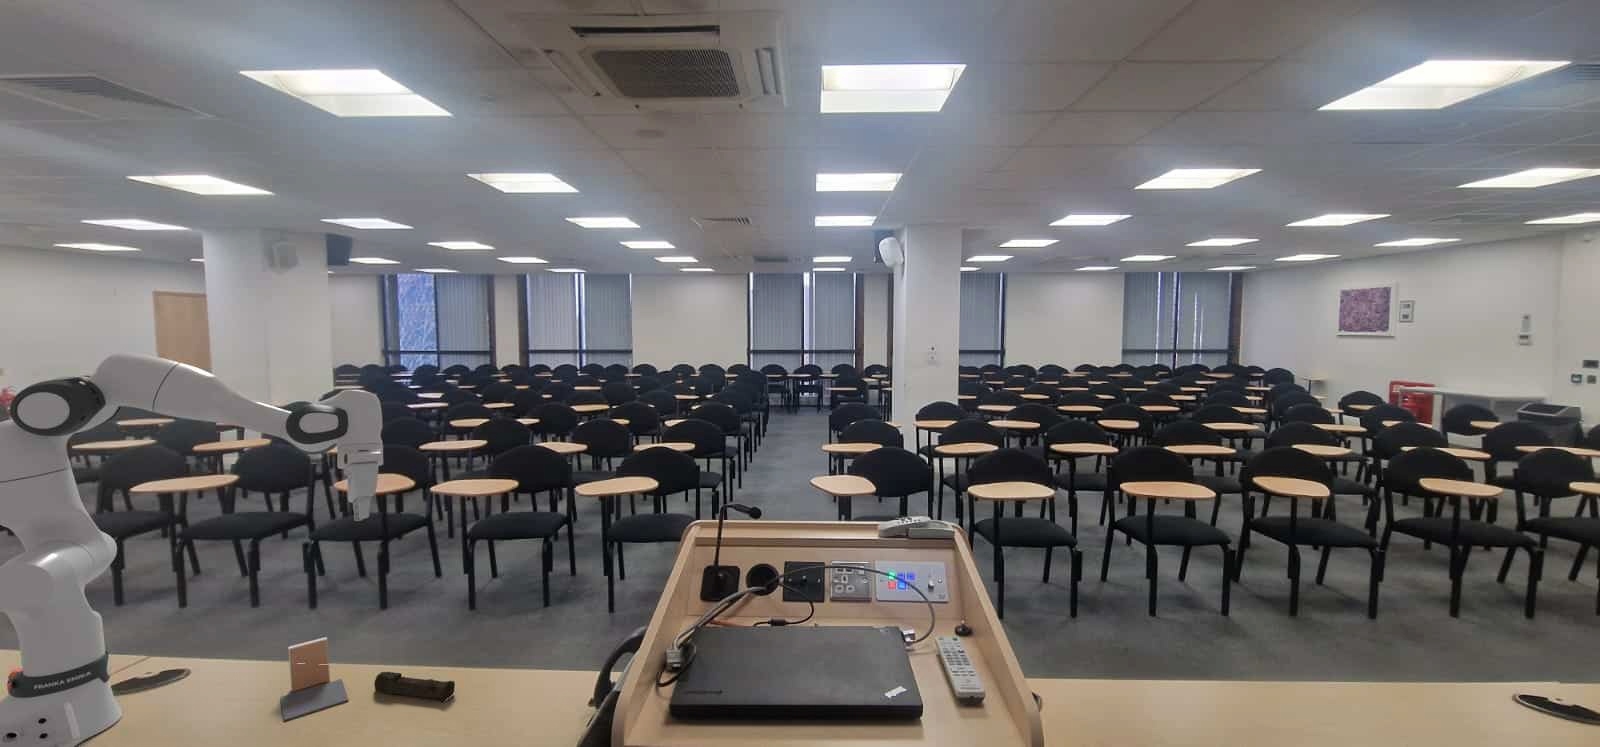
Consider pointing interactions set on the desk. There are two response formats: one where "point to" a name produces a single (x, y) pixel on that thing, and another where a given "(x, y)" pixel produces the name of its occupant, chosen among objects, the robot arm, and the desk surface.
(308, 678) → the tile
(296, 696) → the mat
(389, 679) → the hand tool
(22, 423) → the robot arm
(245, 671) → the desk surface
